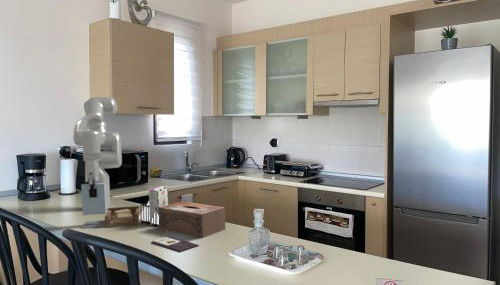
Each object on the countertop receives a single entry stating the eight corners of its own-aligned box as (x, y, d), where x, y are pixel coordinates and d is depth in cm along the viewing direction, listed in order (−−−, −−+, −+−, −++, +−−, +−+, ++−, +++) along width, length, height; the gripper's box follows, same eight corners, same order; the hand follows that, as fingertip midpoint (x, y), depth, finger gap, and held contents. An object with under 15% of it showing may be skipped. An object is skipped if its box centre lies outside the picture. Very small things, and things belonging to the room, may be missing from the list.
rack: (109, 220, 201) (108, 207, 201) (139, 217, 204) (139, 205, 204) (105, 227, 187) (104, 214, 187) (137, 225, 190) (137, 212, 190)
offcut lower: (112, 224, 193) (112, 216, 193) (132, 222, 196) (132, 214, 196) (112, 226, 190) (112, 218, 189) (133, 224, 192) (132, 216, 192)
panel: (84, 213, 193) (82, 184, 192) (106, 212, 195) (105, 182, 194) (82, 215, 190) (81, 185, 189) (105, 213, 192) (104, 183, 191)
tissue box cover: (159, 229, 183) (158, 207, 182) (182, 222, 194) (182, 201, 194) (203, 238, 168) (202, 214, 167) (225, 230, 179) (224, 207, 179)
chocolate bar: (180, 251, 150) (151, 241, 162) (180, 253, 150) (151, 244, 162) (198, 244, 157) (169, 236, 169) (198, 247, 157) (169, 238, 169)
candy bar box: (159, 219, 200) (158, 186, 198) (169, 219, 199) (168, 186, 197) (149, 225, 189) (148, 190, 188) (159, 226, 188) (158, 190, 187)
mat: (85, 222, 197) (85, 221, 197) (108, 220, 199) (108, 220, 199) (81, 228, 187) (81, 227, 187) (105, 226, 189) (105, 225, 189)
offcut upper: (114, 216, 192) (114, 211, 192) (127, 214, 196) (127, 209, 196) (118, 217, 189) (117, 212, 189) (130, 215, 194) (130, 210, 194)
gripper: (86, 156, 198) (88, 194, 199) (79, 159, 182) (82, 200, 183) (103, 155, 200) (105, 193, 201) (97, 158, 184) (99, 199, 185)
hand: (94, 196), depth 192 cm, fingers closed on panel, 3 cm apart
